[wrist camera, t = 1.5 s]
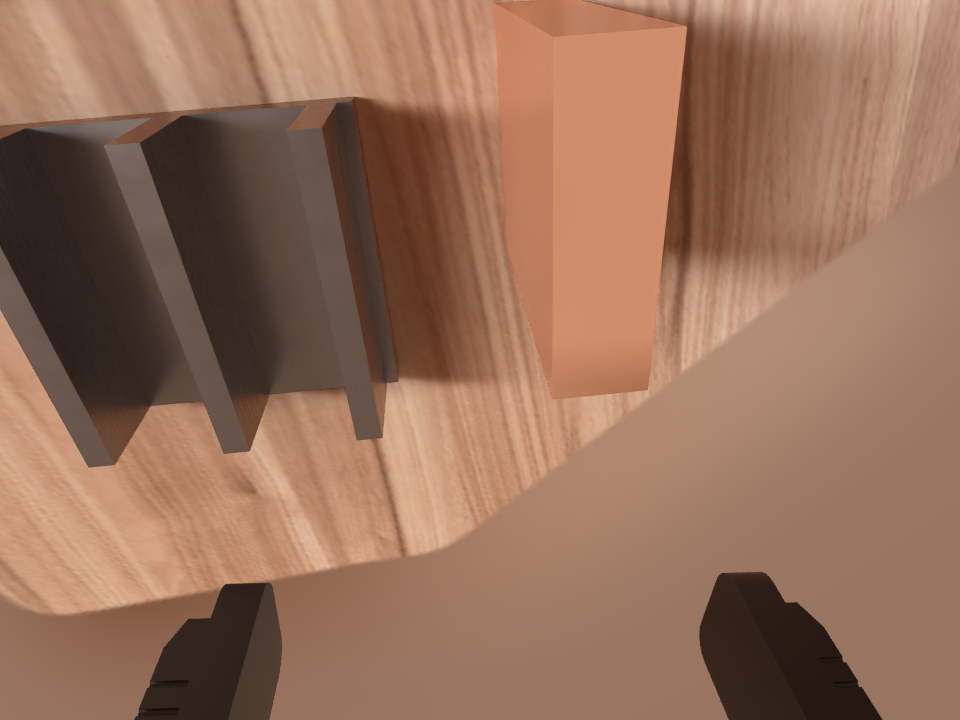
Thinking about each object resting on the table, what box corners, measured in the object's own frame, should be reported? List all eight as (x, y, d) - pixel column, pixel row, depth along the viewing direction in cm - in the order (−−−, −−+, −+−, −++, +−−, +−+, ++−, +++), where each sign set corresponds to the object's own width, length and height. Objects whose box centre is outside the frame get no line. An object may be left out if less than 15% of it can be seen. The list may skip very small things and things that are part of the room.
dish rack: (-6, 126, 25) (-101, 163, 21) (353, 96, 26) (339, 126, 21) (123, 398, 33) (75, 468, 28) (398, 371, 33) (395, 436, 29)
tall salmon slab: (494, 3, 24) (553, 37, 14) (569, -3, 24) (687, 26, 14) (504, 240, 30) (551, 399, 19) (565, 234, 30) (647, 390, 19)
